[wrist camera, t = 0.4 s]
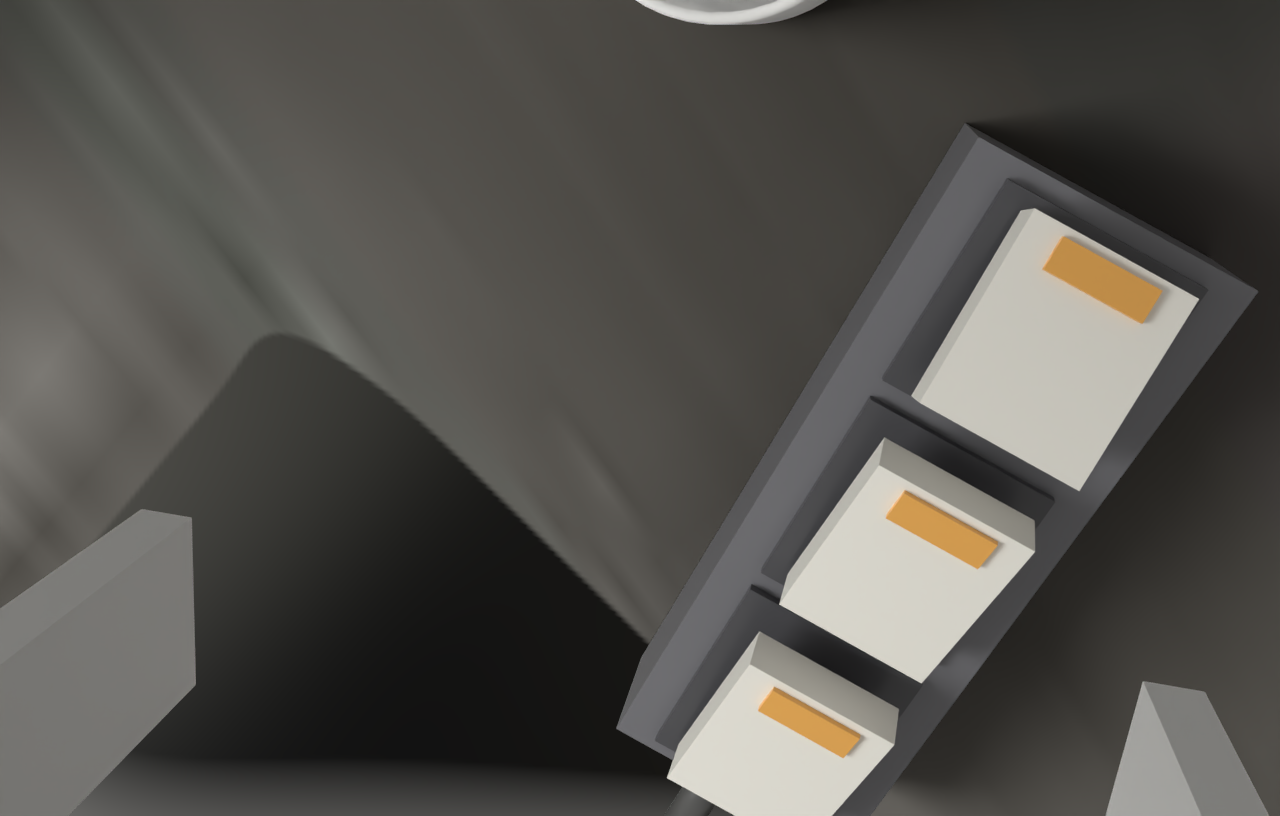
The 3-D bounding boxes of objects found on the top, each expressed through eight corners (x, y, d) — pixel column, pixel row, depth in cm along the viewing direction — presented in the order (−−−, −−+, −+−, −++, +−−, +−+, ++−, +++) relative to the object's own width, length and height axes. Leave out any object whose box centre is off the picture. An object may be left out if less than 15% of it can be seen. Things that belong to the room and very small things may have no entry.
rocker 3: (911, 396, 34) (920, 403, 33) (1020, 210, 34) (1036, 207, 32) (1063, 480, 34) (1081, 492, 33) (1177, 296, 34) (1202, 299, 32)
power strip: (574, 767, 49) (540, 854, 44) (964, 122, 39) (980, 138, 33) (772, 878, 49) (761, 978, 44) (1216, 261, 38) (1269, 297, 33)
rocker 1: (678, 743, 41) (665, 782, 39) (759, 631, 38) (748, 668, 36) (807, 815, 41) (798, 856, 39) (898, 708, 38) (893, 749, 36)
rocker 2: (787, 573, 38) (778, 608, 37) (884, 437, 35) (878, 468, 33) (925, 650, 38) (921, 687, 37) (1034, 520, 35) (1035, 555, 33)
